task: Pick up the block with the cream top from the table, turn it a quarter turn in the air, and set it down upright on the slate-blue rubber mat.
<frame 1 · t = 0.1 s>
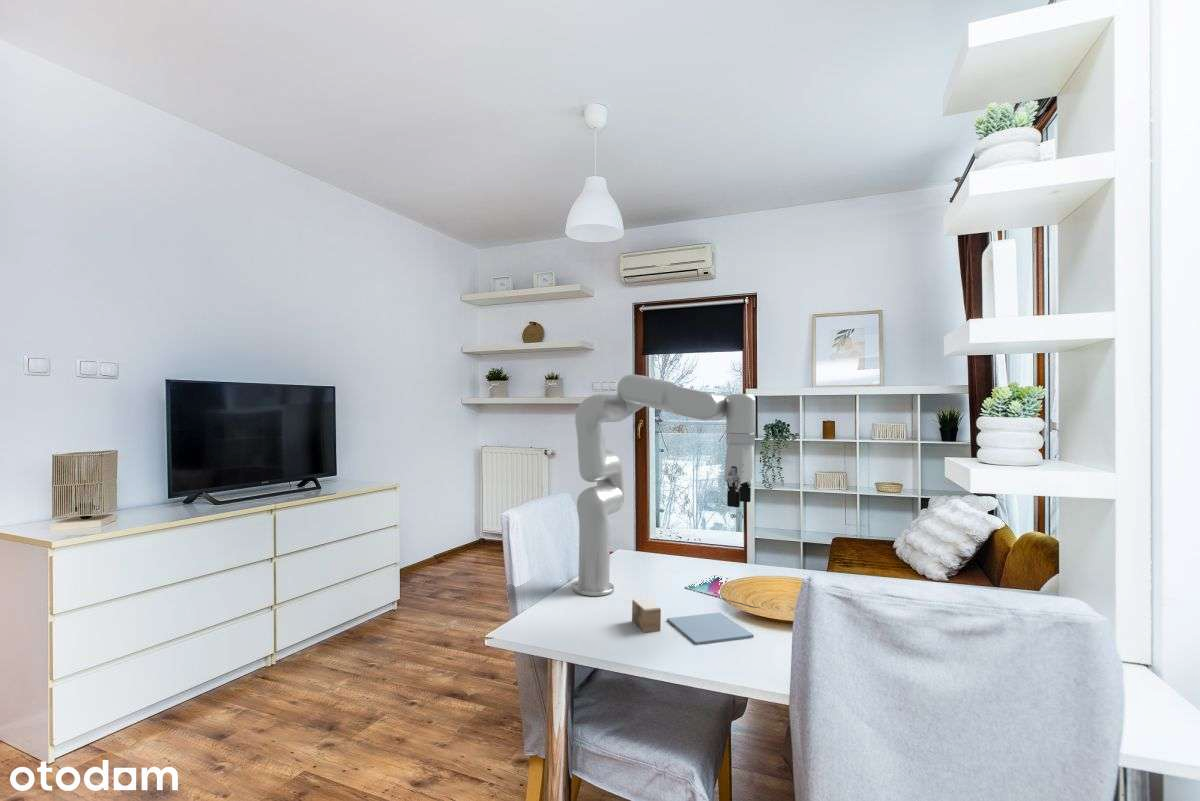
hand: (739, 504, 154), 31 cm above the table, tool pointing down, fingers open, 9 cm apart
block: (645, 626, 149), on the table
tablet: (733, 592, 179), on the table
mat: (708, 628, 148), on the table
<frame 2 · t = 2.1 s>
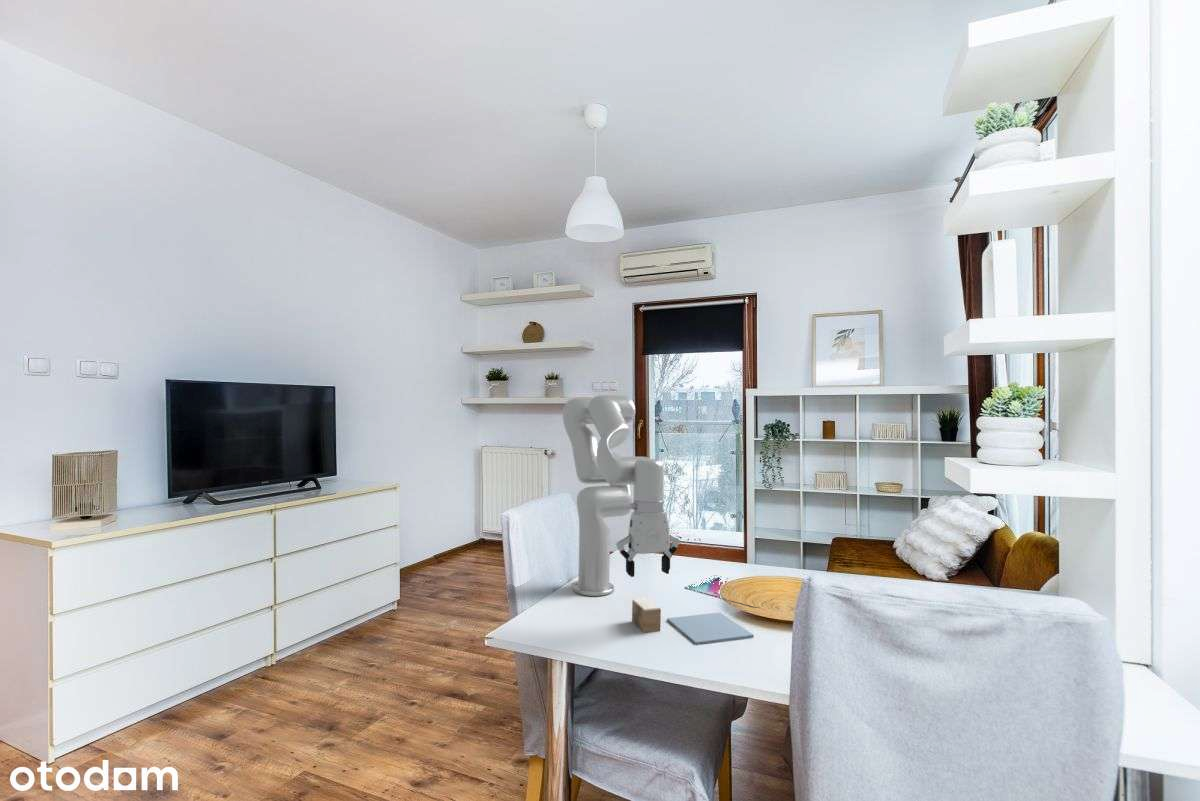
hand: (648, 574, 148), 14 cm above the table, tool pointing down, fingers open, 9 cm apart
nothing on the table moved.
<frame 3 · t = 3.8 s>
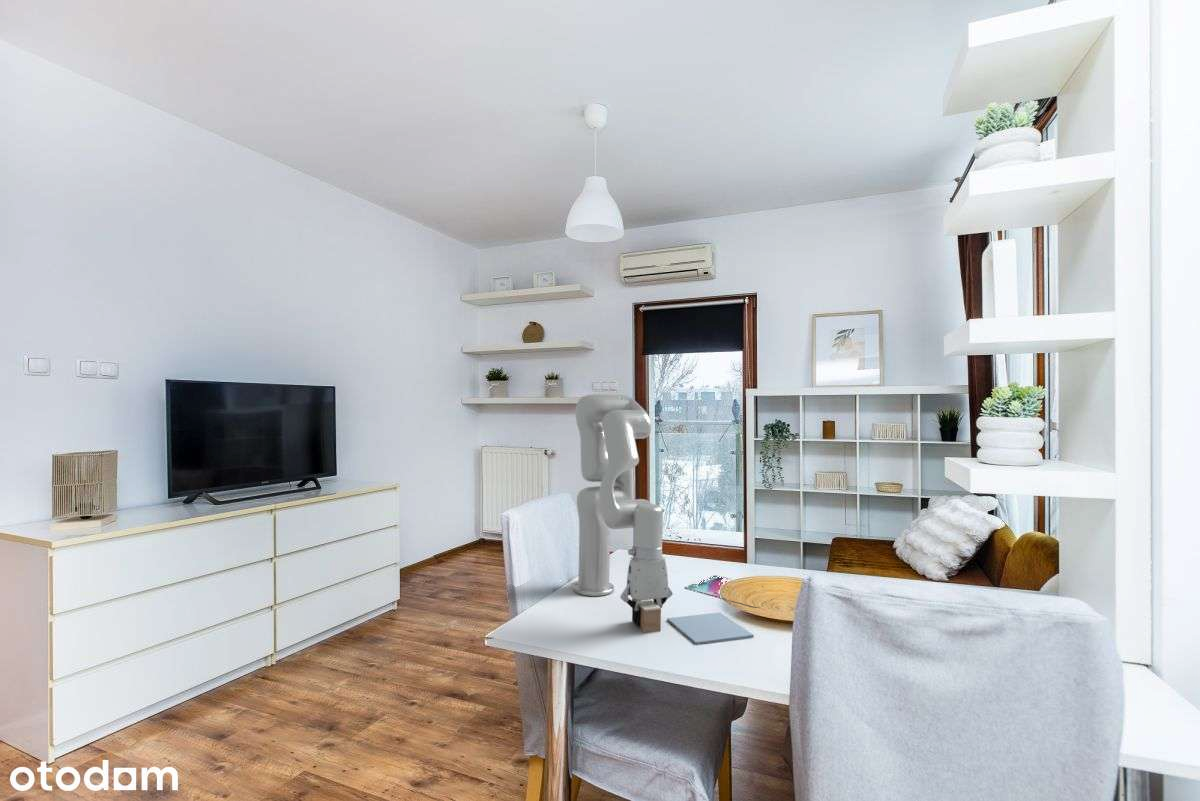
hand: (646, 622, 149), 1 cm above the table, tool pointing down, fingers closed on block, 4 cm apart
block: (646, 626, 149), on the table, touching gripper
everything else where it was.
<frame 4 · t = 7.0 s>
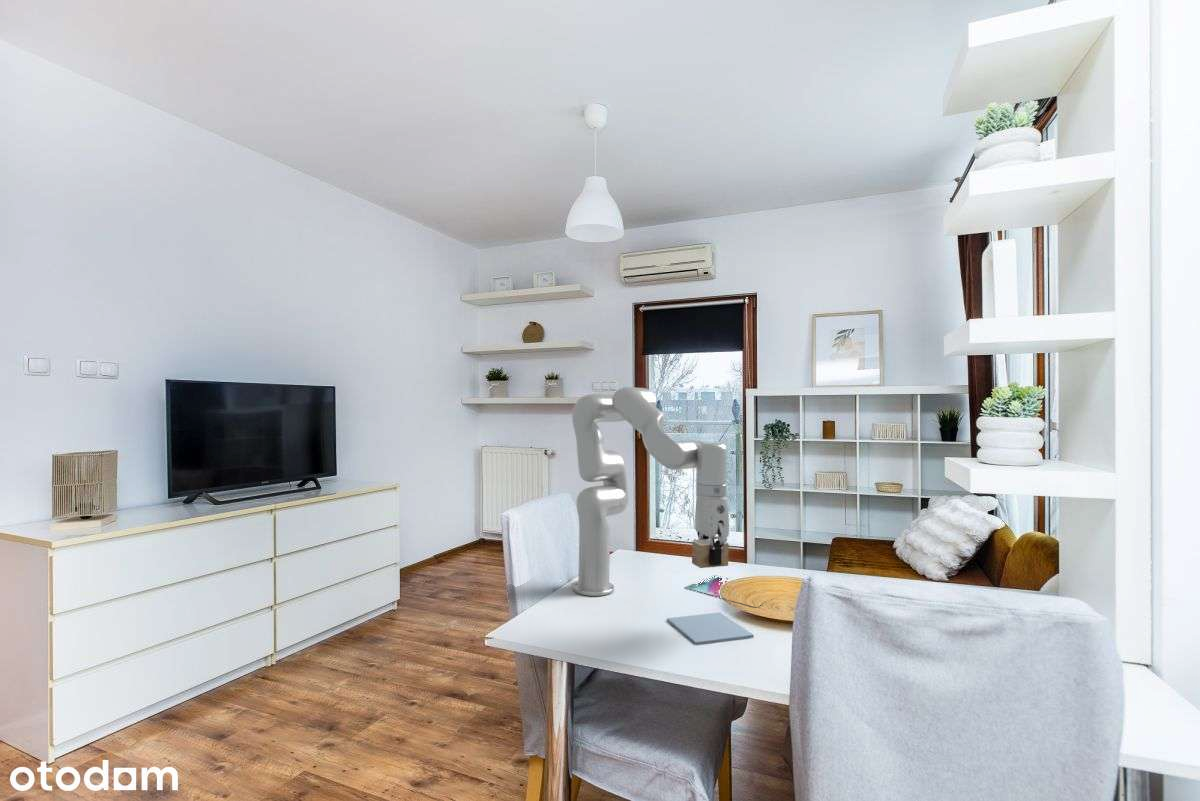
hand: (709, 561, 148), 17 cm above the table, tool pointing down, fingers closed on block, 4 cm apart
block: (710, 564, 148), point 16 cm above the table, touching gripper
everything else where it was.
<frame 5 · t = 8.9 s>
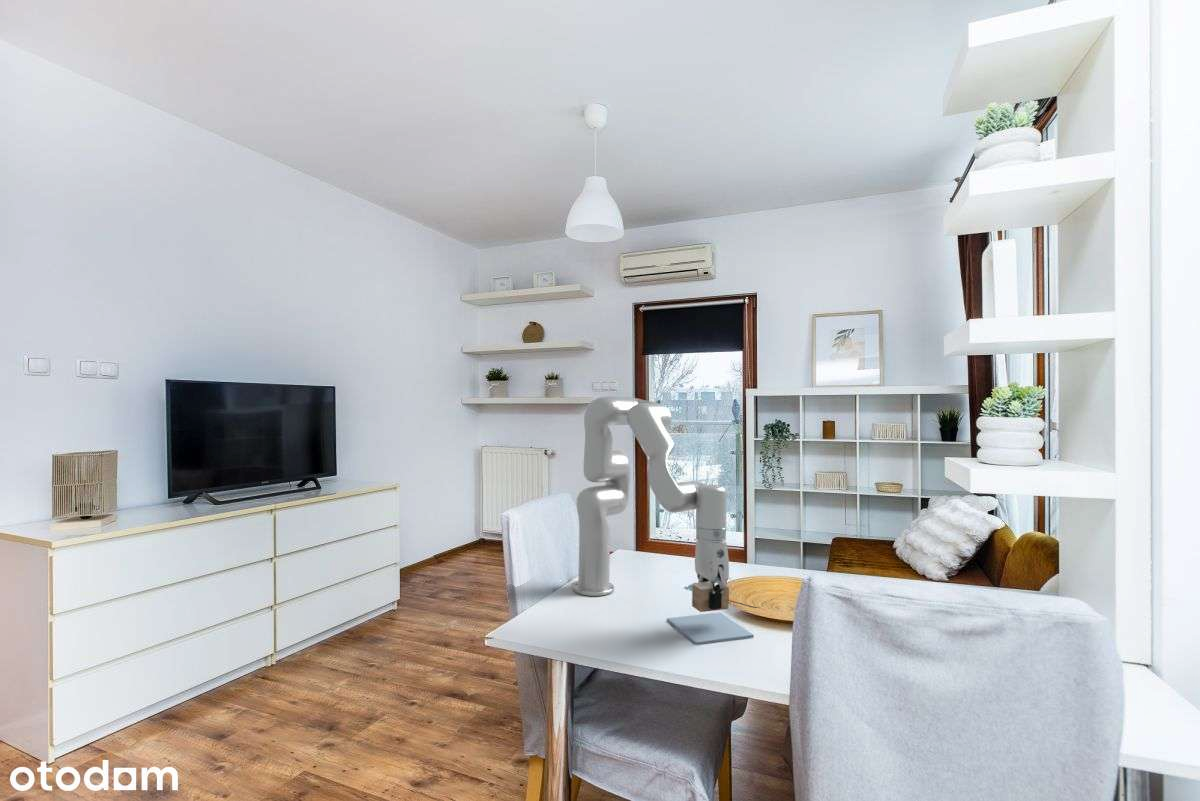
hand: (710, 604, 148), 6 cm above the table, tool pointing down, fingers closed on block, 4 cm apart
block: (710, 607, 148), point 5 cm above the table, touching gripper
everything else where it was.
when the fingers open (3 cm above the table, at t = 10.4 s): block drops 1 cm, resting on mat.
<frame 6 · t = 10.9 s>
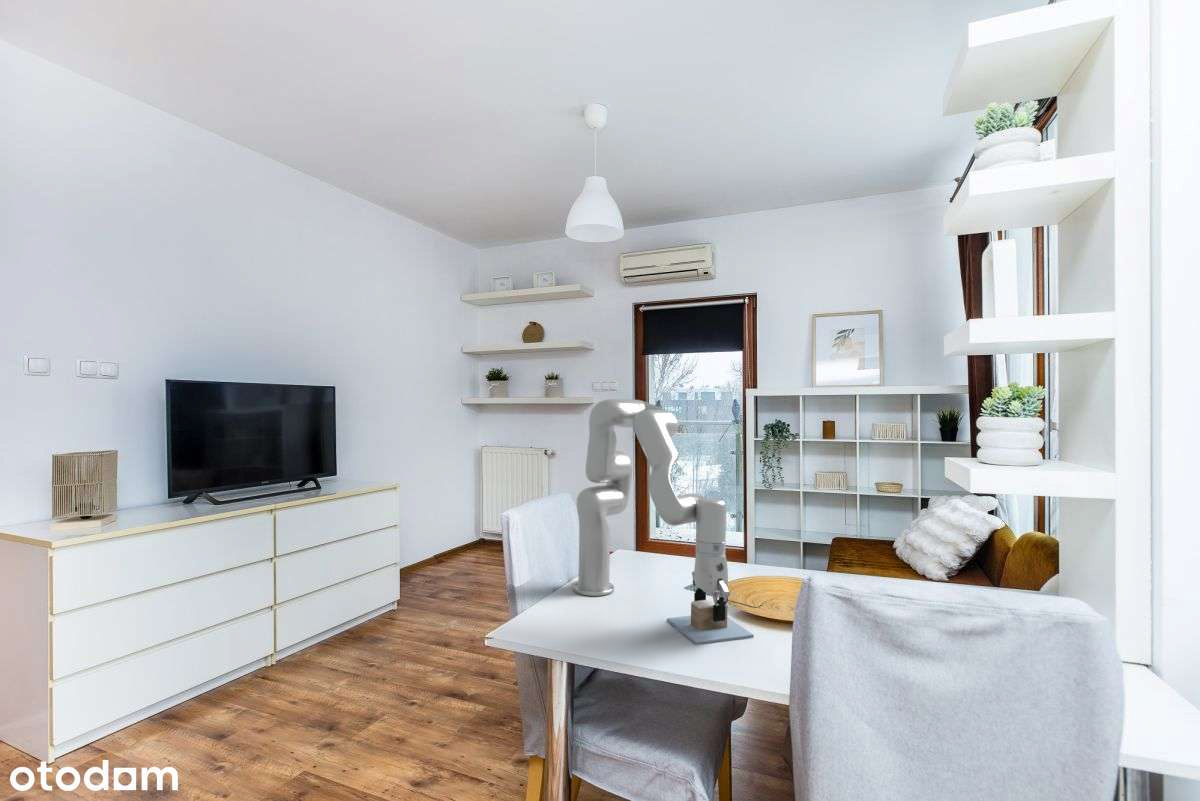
hand: (709, 613, 148), 4 cm above the table, tool pointing down, fingers open, 9 cm apart
block: (708, 626, 148), point 1 cm above the table, touching mat
everything else where it was.
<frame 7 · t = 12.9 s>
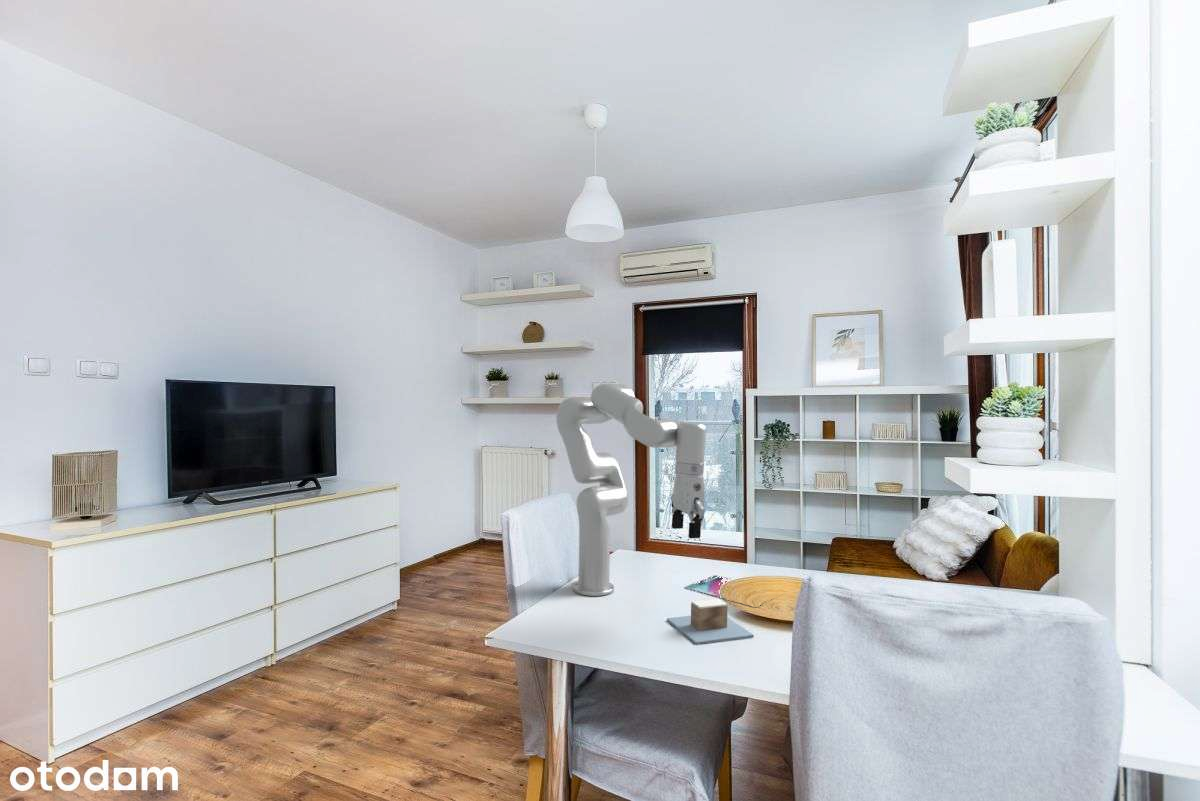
hand: (685, 533, 154), 23 cm above the table, tool pointing down, fingers open, 9 cm apart
nothing on the table moved.
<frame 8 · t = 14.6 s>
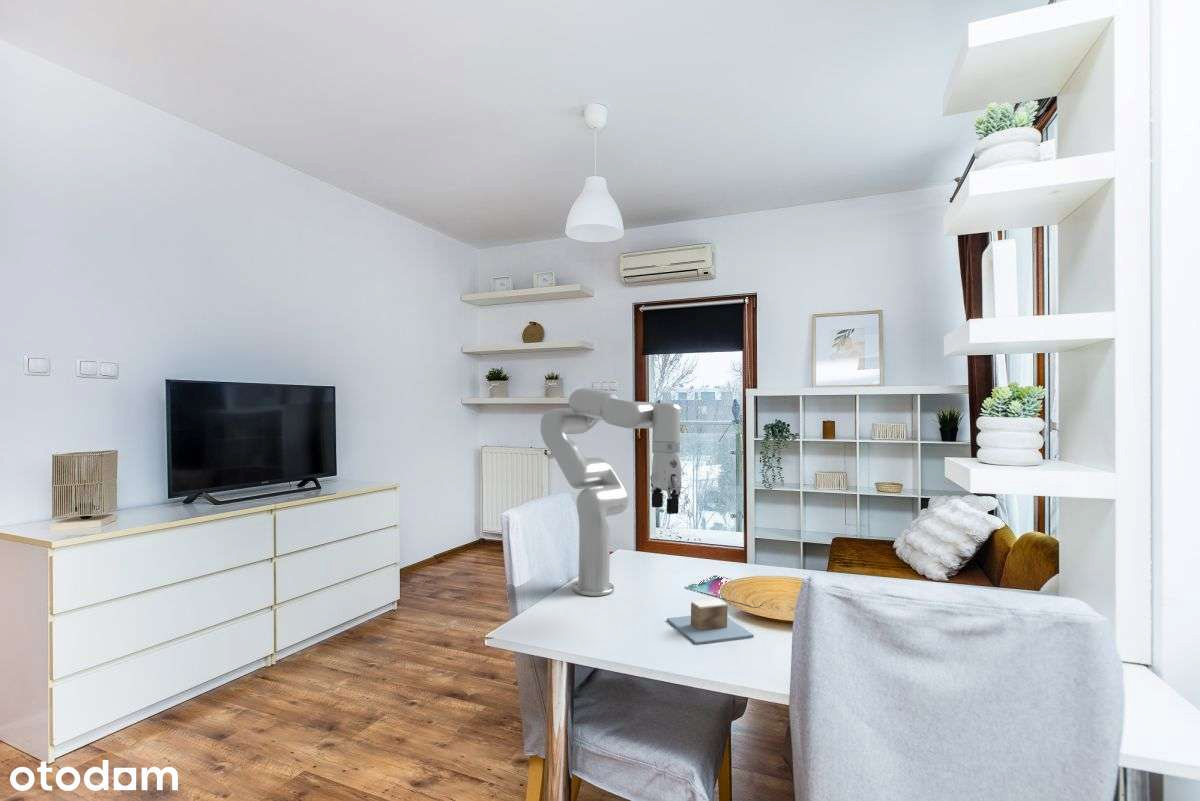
hand: (664, 510, 158), 28 cm above the table, tool pointing down, fingers open, 9 cm apart
nothing on the table moved.
at the end: block inside the target area on the mat (0.1 cm from its centre), point 0.6 cm above the mat's base; block tilted 0°; the gripper is holding nothing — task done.
